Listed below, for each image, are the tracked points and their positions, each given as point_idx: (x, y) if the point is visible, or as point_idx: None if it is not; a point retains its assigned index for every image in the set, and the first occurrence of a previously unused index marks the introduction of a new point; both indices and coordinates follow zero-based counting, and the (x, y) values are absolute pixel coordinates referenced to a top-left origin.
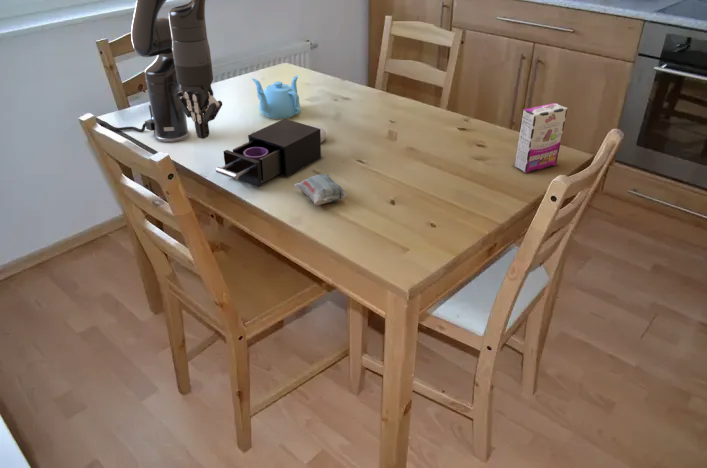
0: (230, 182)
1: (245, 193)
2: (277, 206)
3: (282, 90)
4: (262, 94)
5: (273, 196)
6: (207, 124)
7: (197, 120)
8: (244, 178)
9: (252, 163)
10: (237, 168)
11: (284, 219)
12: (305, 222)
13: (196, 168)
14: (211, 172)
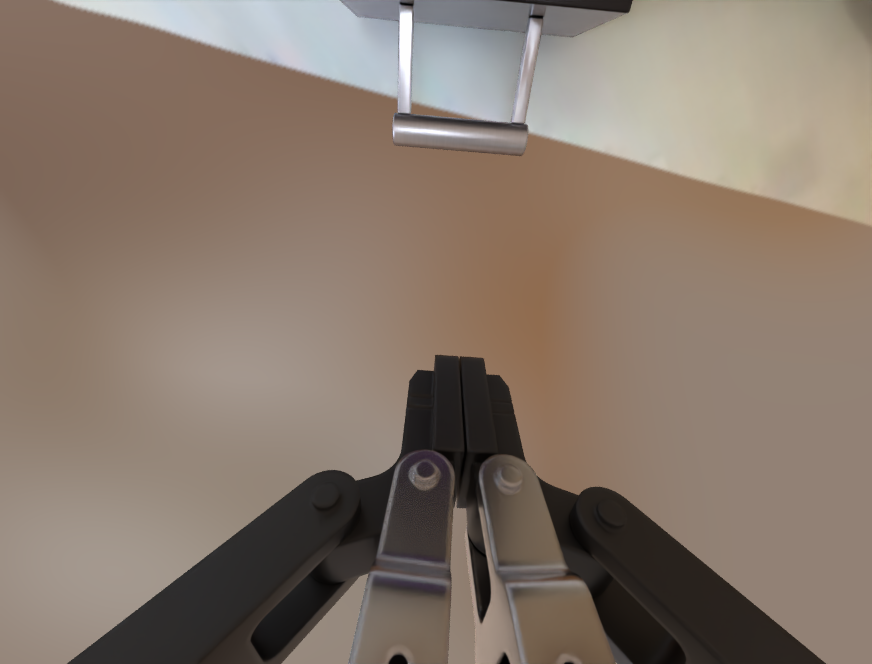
0: None
1: None
2: (694, 116)
3: None
4: None
5: (650, 44)
6: (519, 453)
7: (467, 540)
8: (485, 25)
9: (584, 12)
10: (442, 12)
11: (746, 185)
12: (833, 161)
13: (161, 11)
14: (250, 3)
